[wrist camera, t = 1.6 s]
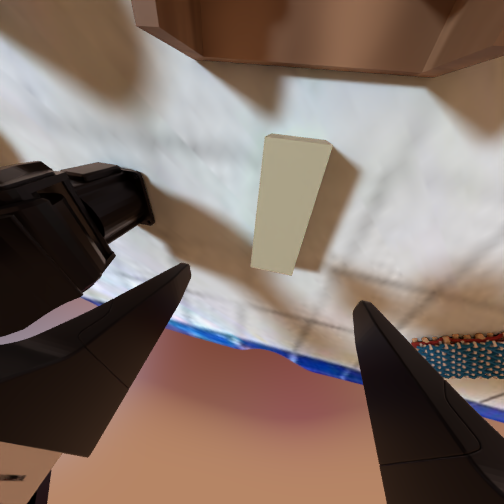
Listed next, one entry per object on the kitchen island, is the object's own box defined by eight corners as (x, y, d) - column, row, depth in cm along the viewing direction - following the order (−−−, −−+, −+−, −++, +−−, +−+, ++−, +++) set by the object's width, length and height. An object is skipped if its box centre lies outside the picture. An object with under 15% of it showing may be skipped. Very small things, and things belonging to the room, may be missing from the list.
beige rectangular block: (292, 253, 22) (291, 275, 19) (257, 246, 22) (250, 267, 19) (325, 139, 15) (333, 145, 12) (271, 133, 15) (264, 136, 12)
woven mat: (405, 334, 27) (412, 348, 25) (511, 325, 22) (528, 341, 20) (413, 367, 31) (419, 380, 30) (502, 365, 26) (515, 381, 25)
